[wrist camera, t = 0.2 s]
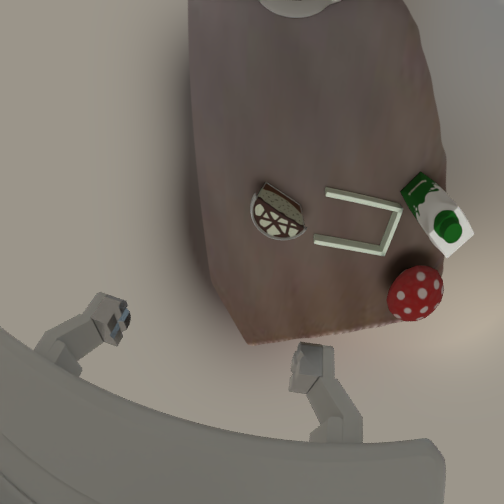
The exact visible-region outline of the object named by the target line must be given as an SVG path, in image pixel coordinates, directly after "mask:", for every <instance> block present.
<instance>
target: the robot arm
mask: <svg viewBox="0 0 504 504" xmlns="http://www.w3.org/2000/svg"><path fill="white" fill-rule="evenodd" d="M259 1H260V2H261V4H262V5H263V6H264V7H266V8H267V9H268V10H270V11H271V12H273V13H275V14H278V15H281V16H285V17H290V18H303V17H309V16H312V15H315V14H317V13H319V12H321V11H322V10H323V9H325V8H326V7H327V6H328V5H330V4H333V3H337V2H339V1H341V0H259ZM126 307H127V302H126V301H125V300H122V299H119V298H116V297H113V296H110V295H108V294H105V293H102V292H99V293H97V294H96V295H95V297H94V298H93V300H92V301H91V302H90V304H89V305H88V307H87V308H86V310H85V311H84V312H83V314H82V315H81V314H79V315H77V316H75V317H73V318H71V319H69V320H67V321H65V322H64V323H62V324H60V325H58V326H56V327H54V328H52V329H50V330H48V331H46V332H45V333H44V335H43V337H42V338H41V340H40V341H39V343H38V344H37V346H36V347H35V349H34V350H32V349H30V348H29V347H27V346H26V345H25V344H23V343H22V342H20V341H19V340H17V339H16V338H15V337H13V336H12V335H11V334H9V333H8V332H6V331H5V330H4V329H3V328H1V327H0V504H443V502H444V493H445V478H446V474H445V473H446V467H445V459H444V457H443V456H442V454H441V452H440V451H439V450H438V448H437V447H436V446H435V445H434V443H433V442H432V441H430V440H429V439H427V438H425V439H415V440H406V441H396V442H382V443H363V442H362V441H363V420H362V419H363V417H362V416H361V414H360V413H359V411H358V410H357V408H356V407H355V406H354V404H353V402H352V400H351V399H350V397H349V396H348V394H347V393H346V391H345V390H344V388H343V387H342V385H341V384H340V382H339V381H338V379H334V348H333V347H332V346H325V345H320V344H312V343H305V342H300V343H299V345H298V349H297V351H295V353H294V356H293V359H292V364H291V371H292V373H293V374H292V376H291V377H290V382H289V391H290V392H296V393H303V394H306V395H307V398H308V400H309V402H310V404H311V406H312V408H313V410H314V412H315V414H316V416H317V418H318V420H319V422H320V424H321V425H320V426H319V427H318V428H316V429H315V430H314V431H313V432H311V433H310V440H309V442H303V441H292V440H283V439H274V438H268V437H261V436H255V435H249V434H244V433H238V432H233V431H229V430H224V429H220V428H215V427H211V426H207V425H203V424H199V423H195V422H192V421H188V420H185V419H182V418H178V417H175V416H172V415H169V414H166V413H163V412H159V411H157V410H154V409H151V408H148V407H146V406H143V405H140V404H138V403H135V402H133V401H130V400H127V399H125V398H123V397H120V396H118V395H116V394H113V393H111V392H109V391H107V390H104V389H102V388H100V387H98V386H96V385H94V384H92V383H90V382H88V381H86V380H84V379H82V378H80V377H79V376H80V374H81V372H82V367H81V366H80V365H79V363H78V362H77V361H78V360H79V359H80V358H82V357H84V356H85V355H86V354H88V353H89V352H91V351H92V350H93V349H95V348H96V347H98V346H99V345H101V344H102V343H103V342H106V343H109V344H111V345H114V346H118V344H119V342H120V341H121V339H122V337H123V334H122V332H123V331H125V330H126V329H127V328H128V326H129V324H130V320H131V315H130V311H129V310H128V309H127V308H126Z"/></svg>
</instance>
